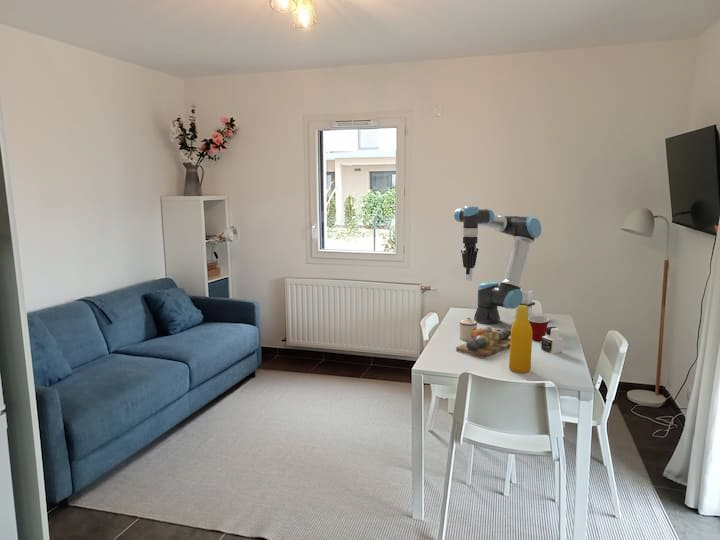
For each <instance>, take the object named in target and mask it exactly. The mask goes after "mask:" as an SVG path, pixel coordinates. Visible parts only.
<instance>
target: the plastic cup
mask: <svg viewBox="0 0 720 540" xmlns="http://www.w3.org/2000/svg"><path fill="white" fill-rule="evenodd" d="M528 318H529V322H530V325H531V327H532V342H537V341H538V343H539V342H540V341H542V336H546V328H547V327H548V325H549V322H550V318H549V317H548V316H544V315H532V316H530V317H528Z"/></svg>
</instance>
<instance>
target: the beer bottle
mask: <svg viewBox="0 0 720 540" xmlns="http://www.w3.org/2000/svg"><path fill="white" fill-rule="evenodd" d="M509 338H510V348H509V361H508V369H509V370H510V371H511V372H514V373H516V374H517V373H518V374H526V373H530V371H531V368H532V350H533V349H532V347H533V345H532V344H533V340H532V327H531V325H530V322H529V317H528V306H526V305H518V308H517V314H516V316H515V320H514V321H513V323H512V325H511V328H510V336H509Z"/></svg>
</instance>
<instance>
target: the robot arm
mask: <svg viewBox="0 0 720 540" xmlns="http://www.w3.org/2000/svg"><path fill="white" fill-rule="evenodd" d="M453 217H454V219H455V221H456V222H458V223H463V227H462V228H463V230H462V231H463V232H462V235H463V236H462V243H463V244H464V245H463V249H461V250H460V253H461V256H462V265H463V268H464V269H465V274H466V275H465V280H466V281H469V282H470V281H471V282H472V281H473V269H474V268H475V267H476V263H477V258H478V253H479V248H478V247H477V244H478V238H479V237H478V236H479V235H478V234H479V233H478V232H479V226H480V227H484V228H487V229H492V230H493V229H494V231H496V232H497V233H502V234H505V235H508V236H512V237H513V239H514V244H513V247H512V250H511V254H510V258H509V262H508V265H507V269H506V272H505V274H504V275H505V276H504V279H503V280H502V281H501V282H500V284H499V282H497V281H488V282H481V283H479V284H478V286H477V287H478V288H477V307H476V308H477V309H476V310H475V313H474V316H473V320H474V321H476V322H477V323H480V324H485V325H486V324H487V325H493V324H494V325H495V324H499V323H501V316H500V313H499V309H498V307H501V308H504V309H508V310H509V309H510V310H514V309H515V310H516V308H517V307H518V305H520V304H521V302H522V299H523V295H522V294H523V293H522V291H523V290H522V291H521V290H520V289H522V287H521V285H520V282H521V278H522V274H523V273H524V268H525V264H526V260H527V257H528V253H529V250H530V246H531V244H533V243H535V239H538V238H539V237H540V236H541V233H542V224H541V222H540V220H539V219H538V218H537V217H533V216H517V215H495V212H494V211H493V210H492V209H489V208H485V209H480V208H479V207H478V206H476V205H474V206H472V205H471V206H469V205H467V206H464V207H461V208H456V210H454V214H453Z"/></svg>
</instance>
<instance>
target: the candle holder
mask: <svg viewBox="0 0 720 540" xmlns="http://www.w3.org/2000/svg"><path fill="white" fill-rule="evenodd" d="M520 290H521V291H522V293H523V294H522V295H523V299H522V302H521V304H520V305H526V306H528V318H529V317H531V316H533V315H532V313H533V312H532V310H533V306H535V305H536V302H534V301H533V290H529V291H524V290H523V289H522V288H521V289H520ZM517 308H518V307H517ZM517 308H515V313H514V314H515V317H516V314H517Z"/></svg>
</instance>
